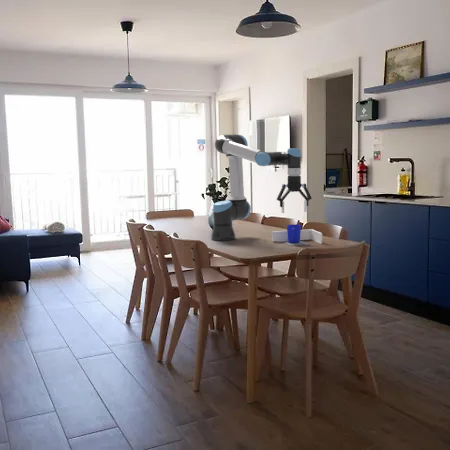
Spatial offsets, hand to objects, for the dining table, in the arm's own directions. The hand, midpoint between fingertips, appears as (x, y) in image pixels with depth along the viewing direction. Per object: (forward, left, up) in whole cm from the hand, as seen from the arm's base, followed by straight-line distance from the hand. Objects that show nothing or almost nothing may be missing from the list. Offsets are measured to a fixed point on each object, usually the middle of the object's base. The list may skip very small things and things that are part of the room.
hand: (294, 212), depth 306 cm
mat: (0, 0, -18) cm, 18 cm away
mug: (-1, 0, -18) cm, 18 cm away
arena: (+1, +2, -18) cm, 18 cm away
